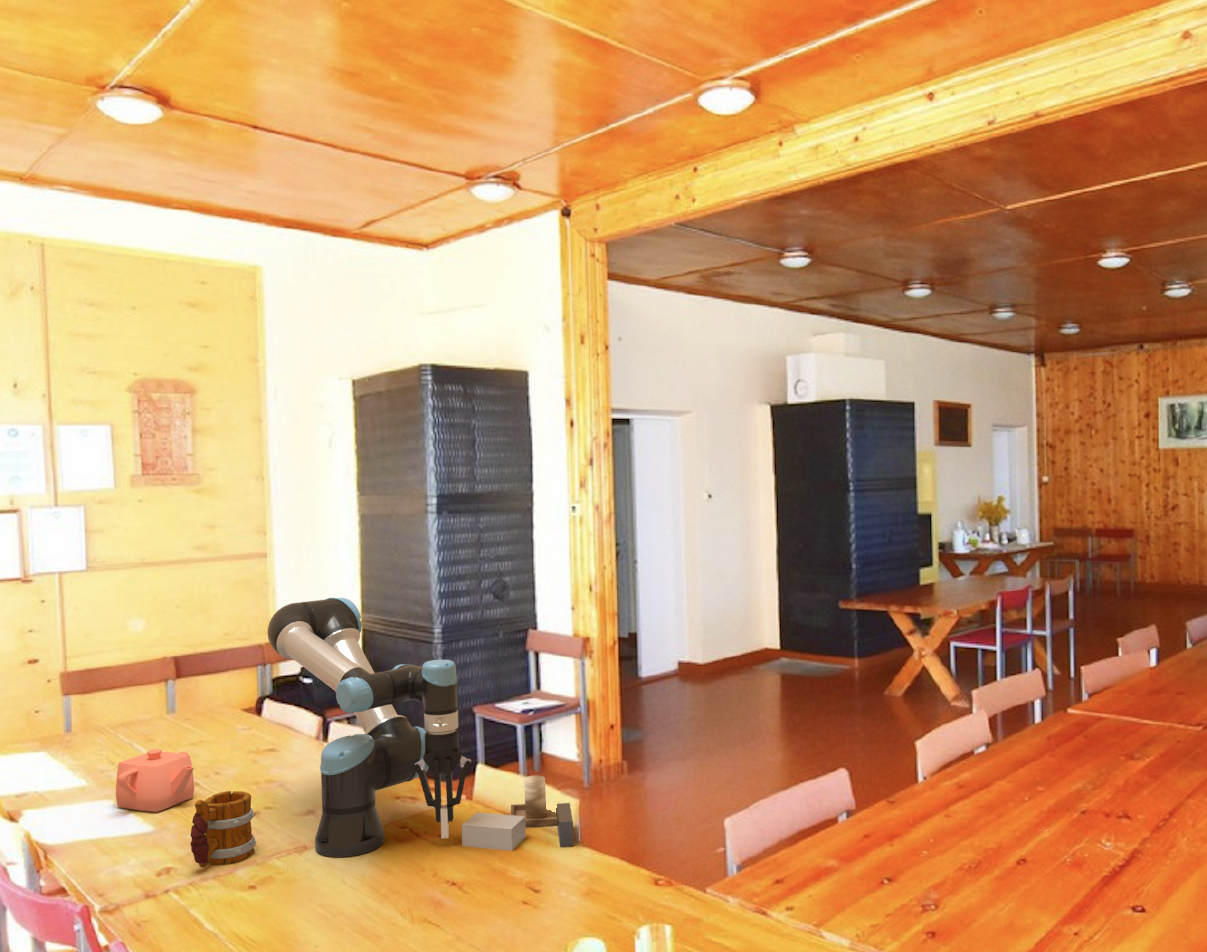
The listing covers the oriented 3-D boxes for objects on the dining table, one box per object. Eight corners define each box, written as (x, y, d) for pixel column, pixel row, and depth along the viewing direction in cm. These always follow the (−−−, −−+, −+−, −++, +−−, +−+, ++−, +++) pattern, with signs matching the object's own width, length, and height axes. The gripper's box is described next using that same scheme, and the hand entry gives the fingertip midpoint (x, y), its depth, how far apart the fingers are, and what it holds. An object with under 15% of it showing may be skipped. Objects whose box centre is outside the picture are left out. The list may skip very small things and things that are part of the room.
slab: (462, 847, 209) (461, 824, 209) (477, 834, 217) (477, 812, 217) (512, 852, 206) (511, 829, 206) (525, 838, 213) (525, 816, 213)
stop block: (560, 847, 207) (559, 822, 207) (557, 827, 219) (556, 803, 219) (573, 846, 207) (572, 821, 207) (570, 826, 219) (569, 802, 219)
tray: (510, 828, 219) (510, 821, 219) (511, 811, 230) (510, 804, 230) (560, 825, 220) (560, 818, 220) (558, 808, 231) (558, 801, 231)
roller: (526, 821, 222) (524, 783, 222) (524, 813, 227) (523, 776, 227) (547, 819, 223) (545, 781, 223) (545, 811, 228) (544, 774, 228)
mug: (266, 848, 211) (264, 781, 212) (214, 878, 196) (212, 806, 196) (227, 843, 215) (225, 778, 215) (173, 872, 199) (171, 802, 200)
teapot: (98, 815, 237) (96, 760, 237) (168, 787, 258) (166, 737, 258) (156, 823, 230) (155, 766, 230) (224, 794, 250) (222, 742, 250)
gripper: (410, 736, 206) (414, 844, 206) (470, 733, 207) (473, 840, 207) (413, 728, 213) (417, 832, 213) (471, 724, 215) (475, 828, 214)
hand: (445, 836), depth 210 cm, fingers closed
